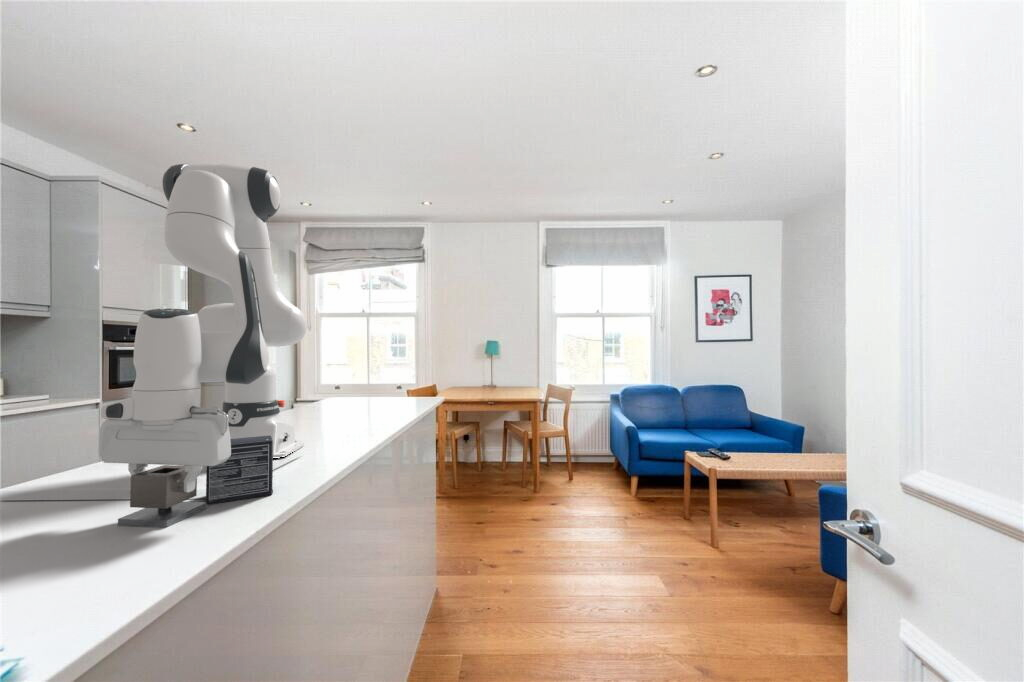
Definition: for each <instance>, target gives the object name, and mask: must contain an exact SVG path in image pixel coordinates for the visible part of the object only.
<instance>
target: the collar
mask: <svg viewBox="0 0 1024 682" xmlns="http://www.w3.org/2000/svg"><path fill="white" fill-rule="evenodd" d="M187 474H188V472H185V465H160V466H158V467H154V468H151V469H147V470H146V471H144V472H140V473H137V474H134V475H131V474H130V493H129V494H130V496H129V501H130V502H129V508H135V509H136V508H137V509H138V508H140V509H141V508H142V509H144V508H162V509H166V508H169V507H171V506H173V505H176V504H178V503H181V502H186V501H187V500H189V499H192V498H194V497H197V492H198V491H197V487H198V482H197V481H198V478H197V479H196V482H195V489H194V490H193V491H191V492H179V491H178V489H179V486H178V484H179V482H180V481H183V480H184V479H185V477H186V475H187Z"/></svg>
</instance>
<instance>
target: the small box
mask: <svg viewBox="0 0 1024 682" xmlns="http://www.w3.org/2000/svg"><path fill="white" fill-rule="evenodd" d="M230 441H231V456H230V457H229V459H228V460H227V461H226V462H223V463H221V464H218V465H215V466H206V469H205V470H206V471H205V472H206V475H205V476H206V478H205V480H206V483H205V486H206V487H205V501H204V502H207V506H209V505H214V504H221V503H227V502H234V501H239V500H241V501H242V500H247V499H253V498H260V497H266V496H267V497H268V496H272V495H273V494H274V489H273V475H274V474H273V472H274V469H273V464H274V463H273V462H274V461H273V460H274V459H273V440H272V437H271V436H270V435H269V436H258V437H247V438H236V439H230Z"/></svg>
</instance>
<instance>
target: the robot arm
mask: <svg viewBox="0 0 1024 682" xmlns="http://www.w3.org/2000/svg"><path fill="white" fill-rule="evenodd" d="M162 189H163V193H164V196H165V198H166V200H167V202H168V204H167V209H166V214H165V222H164V243H165V246H166V249H167V250H168V251H169V253H170V255H172V257H173V258H175V260H176V261H178V262H179V263H181V264H182V265H184V266H185V267H187V268H189V269H191V270H193V271H195V272H198V273H200V274H203V275H205V276H208V277H210V278H213V279H216V280H219V281H220V282H222V283H224V284H226V285H228V286H229V287H230V289H231V290H230V291H231V292H232V293H231V294H232V299H233V302H224V303H215V304H211V305H206V306H203V307H202V308H200V309H199V311H197V312H196V311H193V310H189V309H181V308H153V309H148V310H146V311H144V312H142V313H141V314H140V316H139V319H138V323H137V326H136V331H135V337H134V338H135V339H134V343H133V344H134V345H133V359H132V360H133V361H132V363H133V366H134V369H135V373H136V375H135V381H134V383H133V386H132V396H129V397H127V398H124V399H121V400H118V401H115V402H111V403H108V404H105V405H103V406H101V408H100V416H101V418H102V419H105V420H104V421H103V422H102V423H101V425H100V427H99V434H98V456H99V457H100V460H101V461H102V462H103V463H105V464H128V468H127V469H128V472H129V473H130V476H131V475H134V474H137V473H140V472H144V471H147V470H146V468H147V467H149V465H160V466H163V465H173V466H185V472H188V474H187V475H186V477H185V479H184V480H183V481H180V482H179V484H178V486H179V489H178V491H179V492H191V491H193V490H194V489H195V482H196V479H197V480H198V477H199V475H200V474H201V472H202V471H203V469H204V467H207V466H215V465H218V464H221V463H223V462H226V461H227V460H228V459H229V457H230V456H231V441H230V439H236V438H247V437H258V436H269V435H270V436H271V437H272V440H273V457H282V456H286V455H288V454H290V453H291V454H293V453H295V452H296V451H298V450H300V449H301V448H302V447H305V443H304V442H303V441H301V440H300V441H299V440H295V436H296V435H295V427H294V425H293V424H292V423H291V422H290V421H288V420H287V419H286V418H285V417H283V416H282V415H281V414H280V413H281V410H280V408H285V406H286V401H285V399H276V398H277V397H276V392H277V389H276V387H277V373H276V370H275V369H274V367H272V366H271V365H270V364H269V360H270V359H269V357H270V356H269V350H268V347H269V348H270V347H271V348H272V347H273V348H274V347H277V348H278V347H285V346H286V347H287V346H291V345H295V344H296V345H297V344H299V343H300V342H302V340H303V339H304V337H305V335H306V333H307V330H308V329H307V328H308V322H307V319H306V316H305V314H304V313H303V311H302V310H301V309H300V308H299V307H297V306H296V305H294V304H292V302H291V301H289V300H288V298H286V296H285V295H284V294H283V292H282V291H281V290H280V289H281V288H280V287H279V285H278V284H277V281H276V277H275V272H274V268H273V267H274V266H273V260H272V250H271V242H270V241H271V240H270V234H269V230H268V225H267V222H268V221H269V219H270V218H271V217H274V216H275V214H276V213H277V212H278V211H279V208H280V205H281V199H282V198H281V197H282V194H281V189H280V186H279V183H278V180H277V178H276V177H275V175H274V174H272V173H271V171H269V170H267V169H264V168H260V167H255V166H252V167H247V166H241V165H235V164H224V163H219V164H207V163H206V164H205V163H204V164H189V163H180V164H179V163H178V164H174V165H171V166H170V167H168V168H167V170H166V171H165V172H164V173H163V176H162ZM201 383H224V401H223V402H222V407H221V408H220V407H216V406H214V407H212V406H211V407H207V406H206V407H205V406H201V403H202V402H201V399H202V398H201V397H202V384H201ZM294 451H295V452H294ZM292 452H293V453H292ZM291 454H290V455H291ZM288 456H289V455H288Z"/></svg>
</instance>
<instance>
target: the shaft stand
mask: <svg viewBox="0 0 1024 682" xmlns="http://www.w3.org/2000/svg"><path fill="white" fill-rule="evenodd" d="M207 506H208V505H207V502H205V501H204V502H202V501H183V502H181V503H178V504H176V505H173V506H171V507H169V508H166V509H162V508H142V509H141V508H140V509H138V510H137V511H134V512H132V513H129V514H126V515H124V516H122V517H119V518H118V519H117V526H123V527H125V526H126V527H127V526H128V527H151V528H153V527H154V528H168V527H171V526H173V525H175V524H178V523H179V522H181V521H183V520H186V519H187V518H190V517H191V516H193V515H196V514H198V513H200V512H202V511H204V510H206V509H207Z"/></svg>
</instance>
